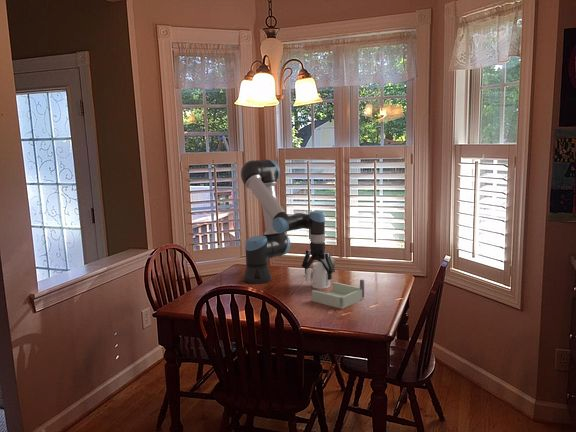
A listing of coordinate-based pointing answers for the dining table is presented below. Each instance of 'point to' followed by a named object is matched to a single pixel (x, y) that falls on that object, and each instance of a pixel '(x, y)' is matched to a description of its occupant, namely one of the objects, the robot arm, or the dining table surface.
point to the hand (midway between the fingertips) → (318, 283)
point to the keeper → (340, 295)
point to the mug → (318, 276)
